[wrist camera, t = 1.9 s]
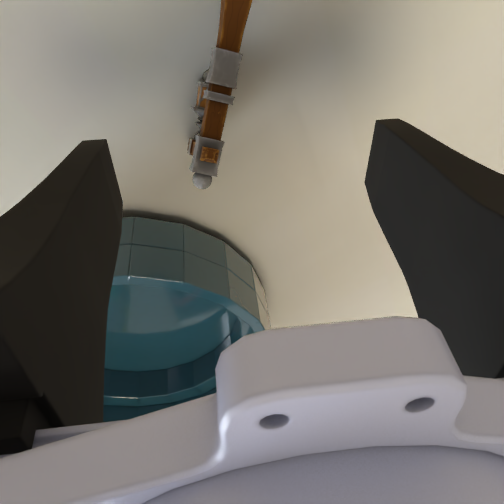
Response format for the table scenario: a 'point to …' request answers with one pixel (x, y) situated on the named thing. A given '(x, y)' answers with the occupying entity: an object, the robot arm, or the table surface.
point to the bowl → (173, 315)
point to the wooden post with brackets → (217, 92)
